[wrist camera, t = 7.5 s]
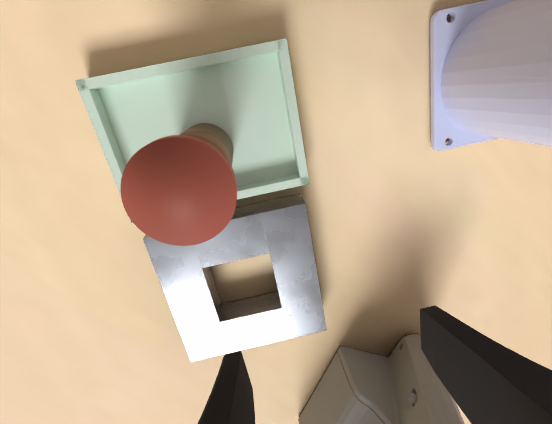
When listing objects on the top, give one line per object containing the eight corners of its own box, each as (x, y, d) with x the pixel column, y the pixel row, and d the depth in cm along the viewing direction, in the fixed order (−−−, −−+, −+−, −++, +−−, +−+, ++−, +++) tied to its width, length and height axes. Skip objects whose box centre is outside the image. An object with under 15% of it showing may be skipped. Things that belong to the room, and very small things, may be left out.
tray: (282, 42, 17) (286, 38, 16) (304, 177, 20) (309, 183, 19) (88, 81, 17) (75, 80, 16) (139, 213, 20) (131, 222, 19)
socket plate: (299, 193, 21) (305, 203, 19) (320, 312, 24) (326, 330, 23) (151, 225, 20) (143, 239, 19) (194, 341, 24) (191, 361, 22)
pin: (229, 111, 18) (220, 126, 10) (244, 174, 19) (247, 233, 11) (165, 125, 18) (101, 152, 10) (184, 187, 19) (143, 256, 11)
